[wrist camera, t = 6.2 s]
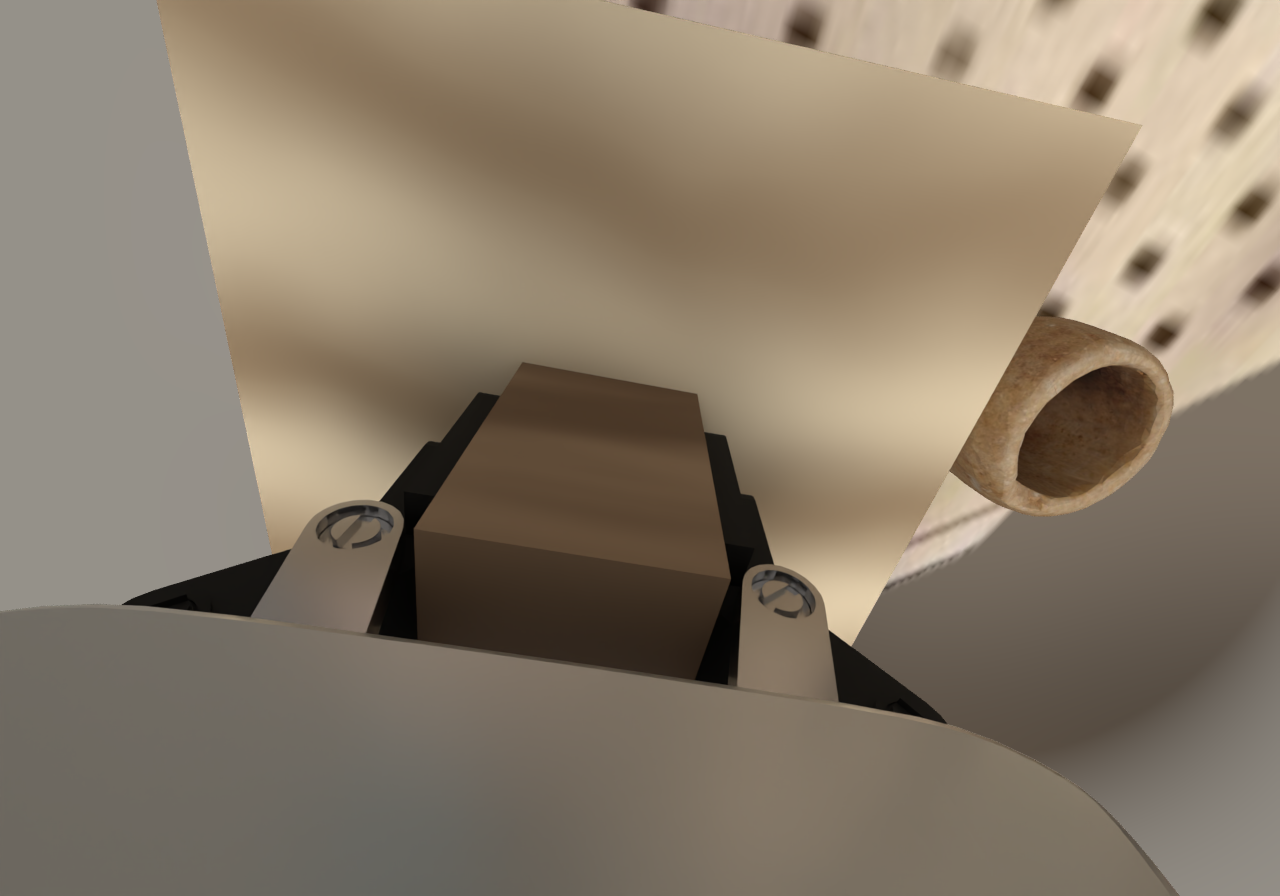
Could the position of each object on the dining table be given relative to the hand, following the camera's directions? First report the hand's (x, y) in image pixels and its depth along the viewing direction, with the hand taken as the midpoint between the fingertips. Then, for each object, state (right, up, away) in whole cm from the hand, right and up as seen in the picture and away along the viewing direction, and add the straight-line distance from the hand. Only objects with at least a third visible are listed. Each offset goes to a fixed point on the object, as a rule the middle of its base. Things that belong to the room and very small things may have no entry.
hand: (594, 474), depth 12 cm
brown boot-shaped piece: (+20, +8, +25) cm, 33 cm away
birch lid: (0, +1, +2) cm, 2 cm away
